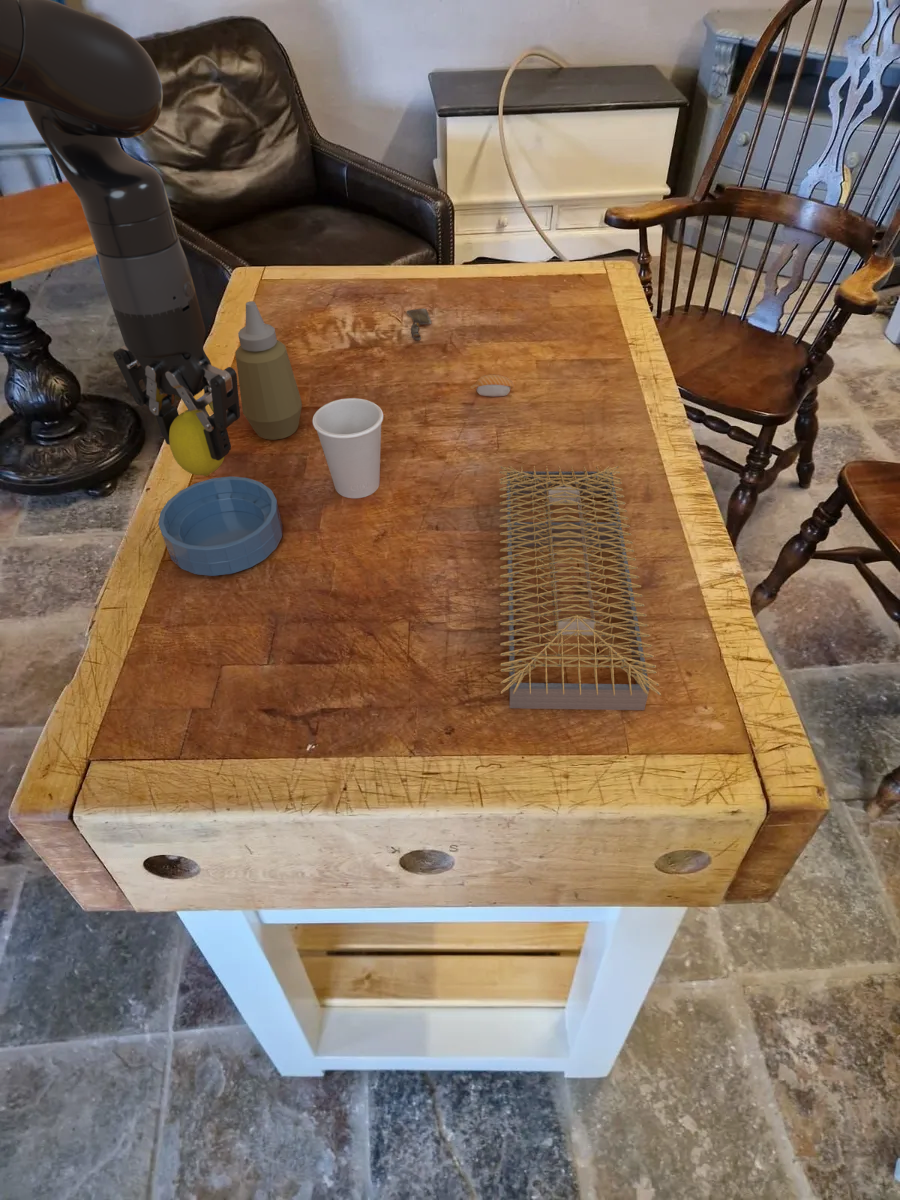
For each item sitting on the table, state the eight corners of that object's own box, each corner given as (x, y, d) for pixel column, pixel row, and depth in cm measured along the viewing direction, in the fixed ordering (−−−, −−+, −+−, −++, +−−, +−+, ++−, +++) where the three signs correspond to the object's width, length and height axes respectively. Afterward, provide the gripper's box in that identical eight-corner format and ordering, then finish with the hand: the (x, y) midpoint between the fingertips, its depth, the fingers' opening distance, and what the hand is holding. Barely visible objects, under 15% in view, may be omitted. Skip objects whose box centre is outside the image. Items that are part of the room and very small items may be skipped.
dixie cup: (320, 471, 103) (307, 403, 96) (383, 460, 105) (376, 392, 98) (329, 510, 98) (317, 441, 90) (396, 498, 99) (389, 429, 92)
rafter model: (499, 488, 100) (499, 447, 95) (615, 489, 99) (621, 447, 95) (500, 715, 75) (501, 673, 71) (655, 718, 74) (666, 675, 70)
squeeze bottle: (318, 427, 111) (296, 301, 98) (271, 452, 107) (243, 324, 94) (282, 407, 115) (257, 283, 102) (236, 430, 111) (204, 305, 98)
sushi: (514, 398, 115) (514, 379, 112) (469, 398, 115) (469, 379, 113) (514, 389, 116) (514, 370, 114) (470, 389, 117) (469, 370, 115)
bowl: (236, 593, 88) (226, 563, 84) (145, 558, 92) (133, 528, 89) (305, 524, 96) (299, 494, 93) (219, 495, 100) (210, 465, 97)
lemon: (242, 467, 88) (225, 403, 82) (211, 495, 85) (192, 430, 79) (202, 456, 90) (183, 392, 84) (170, 483, 86) (148, 419, 81)
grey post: (437, 311, 135) (408, 311, 136) (437, 304, 134) (408, 304, 135) (424, 342, 127) (394, 341, 127) (424, 335, 126) (393, 334, 127)
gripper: (64, 295, 73) (123, 450, 85) (185, 325, 68) (229, 485, 80) (123, 264, 78) (171, 415, 90) (240, 290, 73) (274, 447, 85)
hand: (198, 448), depth 85 cm, fingers closed on lemon, 5 cm apart
